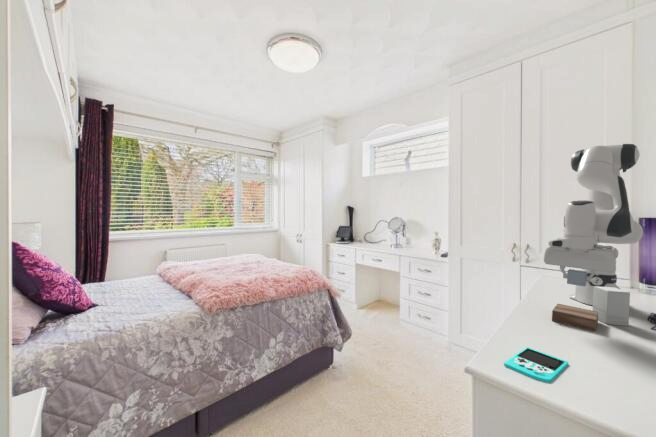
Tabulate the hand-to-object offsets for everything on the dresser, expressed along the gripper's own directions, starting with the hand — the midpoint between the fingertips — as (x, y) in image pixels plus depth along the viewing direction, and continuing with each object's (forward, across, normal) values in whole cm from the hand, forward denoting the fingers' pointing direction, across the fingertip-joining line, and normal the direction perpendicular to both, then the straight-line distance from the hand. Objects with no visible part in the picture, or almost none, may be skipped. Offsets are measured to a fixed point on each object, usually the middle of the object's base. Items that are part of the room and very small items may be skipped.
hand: (576, 279), depth 105 cm
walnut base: (+16, 0, 0) cm, 16 cm away
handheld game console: (+17, +3, +48) cm, 51 cm away
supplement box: (+16, -9, -11) cm, 22 cm away
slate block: (+2, 0, 0) cm, 2 cm away
